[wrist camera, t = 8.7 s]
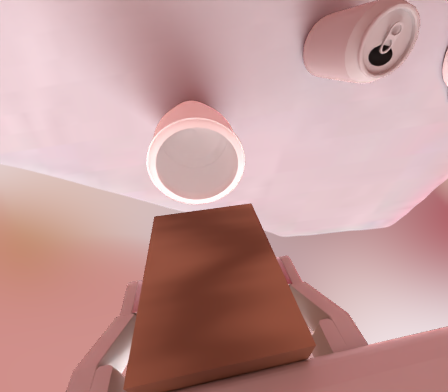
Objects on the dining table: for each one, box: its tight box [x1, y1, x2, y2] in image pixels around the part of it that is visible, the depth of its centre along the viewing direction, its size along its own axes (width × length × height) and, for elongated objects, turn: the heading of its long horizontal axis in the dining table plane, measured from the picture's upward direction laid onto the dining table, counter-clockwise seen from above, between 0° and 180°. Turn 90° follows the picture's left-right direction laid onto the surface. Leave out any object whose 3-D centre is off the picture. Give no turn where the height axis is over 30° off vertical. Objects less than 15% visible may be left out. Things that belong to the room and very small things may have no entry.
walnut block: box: [123, 204, 316, 392], centre depth 10 cm, size 6×6×7 cm
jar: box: [146, 101, 245, 204], centre depth 27 cm, size 11×10×15 cm
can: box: [303, 0, 420, 84], centre depth 25 cm, size 8×8×12 cm
